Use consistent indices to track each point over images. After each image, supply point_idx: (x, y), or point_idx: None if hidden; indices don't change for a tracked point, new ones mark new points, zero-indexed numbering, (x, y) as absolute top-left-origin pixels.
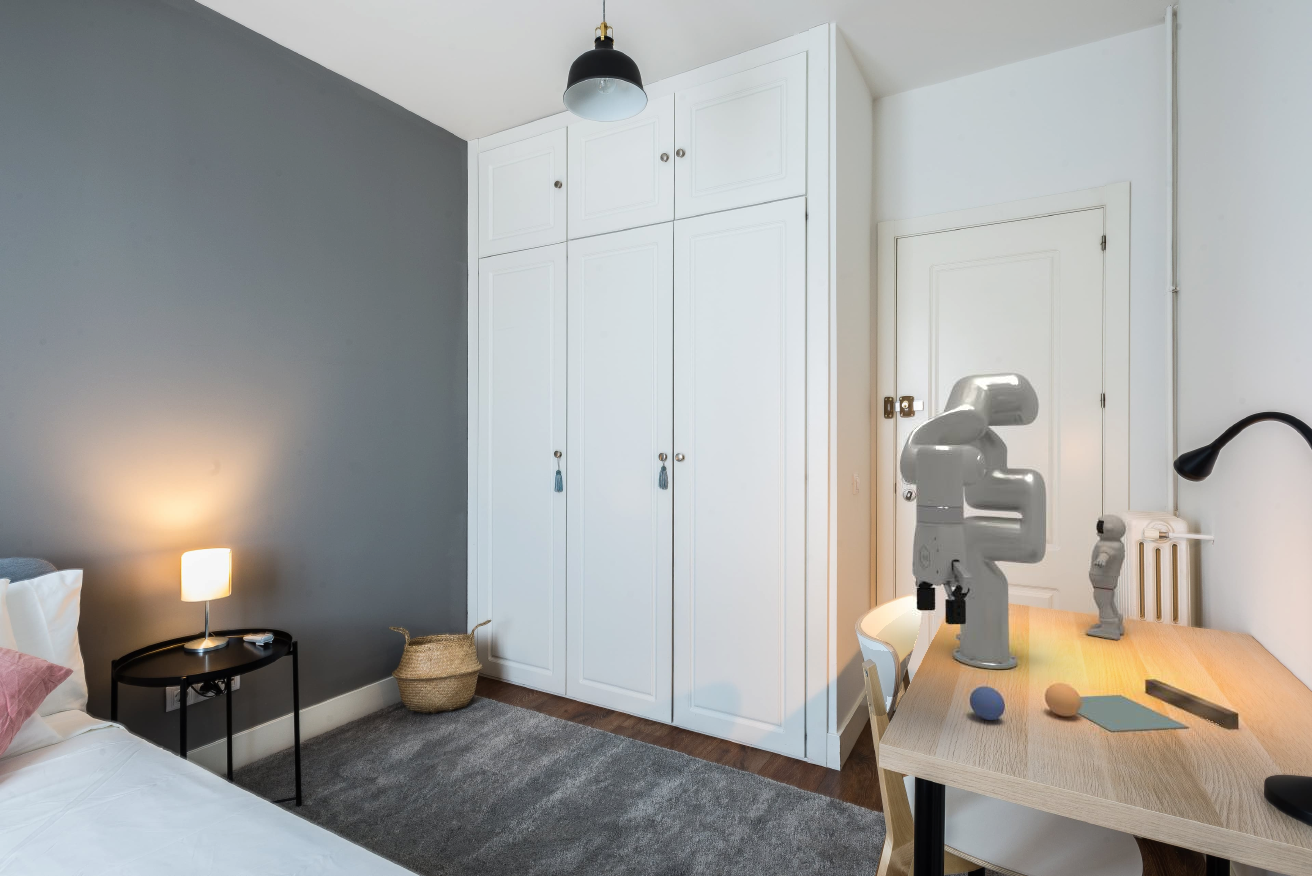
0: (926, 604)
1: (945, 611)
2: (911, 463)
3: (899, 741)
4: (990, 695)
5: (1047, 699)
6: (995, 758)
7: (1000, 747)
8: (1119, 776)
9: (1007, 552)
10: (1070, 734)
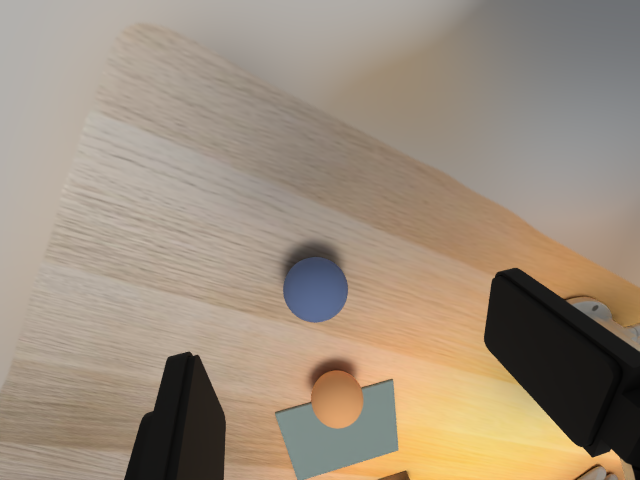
0: (510, 328)
1: (172, 411)
2: None
3: (157, 44)
4: (297, 303)
5: (336, 380)
6: (123, 234)
7: (180, 257)
8: (113, 383)
9: None
10: (259, 367)
